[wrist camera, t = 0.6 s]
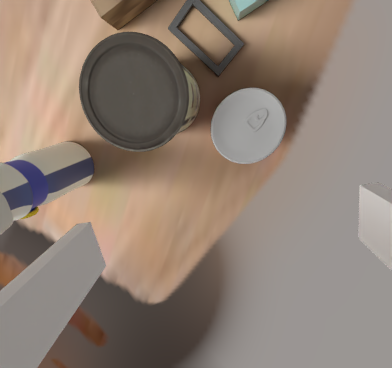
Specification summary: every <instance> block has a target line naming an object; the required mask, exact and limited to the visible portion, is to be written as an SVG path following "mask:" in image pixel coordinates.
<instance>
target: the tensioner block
mask: <svg viewBox="0 0 392 368" xmlns="http://www.w3.org/2000/svg"><path fill="white" fill-rule="evenodd" d="M156 1H157V0H91V2H92V4H93V5H94V7H95V9H96V10H97V12H98V14H99V15H100V17H101V18H102V19H103V20H105V21H106V22H107V23H109V24H110V25H112V26H113V27H114V28H116V29H117V30H119V29H120V28H121V27H123V26H124V25H125V24H127V23H128V22H129V21H131V20H132V19H133V18H135V17H136V16H137V15H138V14H140V13H141V12H142V11H144V10H145V9H146V8H148V7H149V6H150V5H152V4H153V3H154V2H156Z"/></svg>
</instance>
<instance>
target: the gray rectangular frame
mask: <svg viewBox="0 0 392 368" xmlns="http://www.w3.org/2000/svg"><path fill="white" fill-rule="evenodd" d="M192 6H194V7H196V8H197V9H198V10H199V11H200V12H201V13H202V14H203V15H204V16H205V17H206V18H207V19H208V20H209V21H210V22H211V23H212V24H213V25H214V26H215V27H216V28H217V29H218V30H219V31H220V32H221V33H222V34H223V35H224V36H225V37H226V38H228V39H229V40H230V41H231V42H232V43H233V44H234V45H235V46H234V47H233V48H232V50H231V51H230V52H229V53H228V55H227V56H226V57H225V58H224V60H223V61H222V62H221V64H220V65H219V66H217V65H216V64H215V63H214V62H213V61H212V60H210V59H209V58H208V57H207V56H206V55H205V54H204V53H203V52H202V51H201V50H200V49H199V48H198V47H197V46H196V45H195V44H193V43H192V42H191V41H190V40H189V39H188V38H187V37H186V36H185V35H184V34H183V33H182V32H181V31H180V30H179V29H178V26H179V25H180V24H181V22H182V21H183V19H184V18H185V16H186V15H187V13H188V12H189V11H190V9H191V8H192ZM168 29H169V30H170V31H171V32H172V33H173V34H174V35H175V36H176V37H177V38H178V39H179V40H180V41H181V42H182V43H184V44H185V45H186V46H187V47H188V48H189V49H190V50H191V51H192V52H193V53H194V54H195V55H196V56H197V57H199V58H200V59H201V60H202V61H203V62H204V63H205V64H206V65H207V66H208V67H209V68H210V69H211V70H212V71H214V72H215V73H216V74H217V75H218V76H219V75H220V74H221V72H222V71H223V70H224V69H225V67H226V66H227V65H228V64H229V62H230V61H231V60H232V59H233V57H234V56H235V55H236V54H237V52H238V51H239V50H240V49H241V47H242V46H243V45H244V43H243V42H242V41H241V40H240V39H239V38H238V37H237V36H236V35H235V34H234V33H233V32H232V31H231V30H229V29H228V28H227V27H226V26H225V25H224V24H223V23H222V22H221V21H220V20H219V19H218V18H217V17H216V16H215V15H214V14H213V13H212V12H211V11H210V10H209V9H208V8H207V7H206V6H205V5H204V4H203V3H202V2H201V1H200V0H187V1H186V2H185V4H184V5H183V7H182V8H181V10H180V11H179V13H178V14H177V16H176V17H175V18H174V20H173V21H172V23H171V24H170V26H169V27H168Z"/></svg>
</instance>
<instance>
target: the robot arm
mask: <svg viewBox="0 0 392 368" xmlns="http://www.w3.org/2000/svg"><path fill="white" fill-rule="evenodd" d="M358 238H359V239H360V240H361V241H362V242H363V243H364V244H365V245H366V246H367V247H368V248H369V249H370V250H371V251H372V252H373V253H374V254H375V255H376V256H377V257H378V258H379V259H380V260H381V261H382V262H383V263H384V264H385V265H386V266H388V268H390V269H391V270H392V189H390V188H388V187H386V186H384V185H382V184H380V183H371V184H364V185H360V194H359V231H358ZM105 267H106V264H105V261H104V258H103V256H102V253H101V250H100V247H99V245H98V242H97V239H96V236H95V234H94V231H93V228H92V225H91V222H88V223H80V224H76V225H75V226H74V227H73V228H72V229H71V230H70V231H68V232H67V233H66V234H65V235H64V236H63V237H61V238H60V239H59V240H58V241H57V242H56V243H55V244H53V246H51V247H50V248H49V249H48V250H47V251H45V252H44V253H43V254H42V255H41V256H40V257H39V258H37V259H36V260H35V261H34V262H33V263H32V264H31V265H29V266H28V267H27V268H26V269H25V270H24V271H22V272H21V273H20V274H19V275H18V276H17V277H16V278H14V279H13V280H12V281H11V282H10V283H9V284H8V285H6V286H5V287H4V288H3V289H2V290H1V291H0V368H37V367H38V366H39V364H40V363H41V361H42V360H43V358H44V357H45V355H46V354H47V352H48V351H49V349H50V348H51V346H52V345H53V344H54V342H55V341H56V339H57V338H58V336H59V335H60V333H61V332H62V330H63V329H64V327H65V326H66V324H67V323H68V321H69V320H70V318H71V317H72V316H73V314H74V313H75V311H76V310H77V308H78V307H79V305H80V304H81V302H82V301H83V299H84V298H85V296H86V295H87V293H88V292H89V290H90V289H91V287H92V286H93V285H94V283H95V282H96V280H97V279H98V277H99V276H100V274H101V273H102V271H103V270H104V268H105Z"/></svg>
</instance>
